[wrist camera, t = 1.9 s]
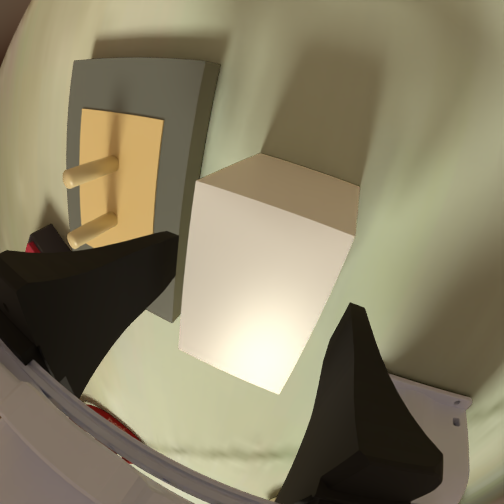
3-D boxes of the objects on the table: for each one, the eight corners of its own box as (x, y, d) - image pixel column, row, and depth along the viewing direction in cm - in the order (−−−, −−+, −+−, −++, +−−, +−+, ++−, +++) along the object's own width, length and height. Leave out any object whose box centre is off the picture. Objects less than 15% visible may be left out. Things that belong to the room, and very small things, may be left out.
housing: (359, 186, 13) (354, 236, 8) (308, 315, 17) (278, 394, 12) (259, 153, 14) (195, 180, 9) (230, 283, 18) (178, 349, 13)
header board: (220, 64, 13) (157, 51, 8) (183, 310, 21) (142, 356, 17) (90, 60, 15) (29, 63, 10) (86, 259, 23) (44, 288, 19)
